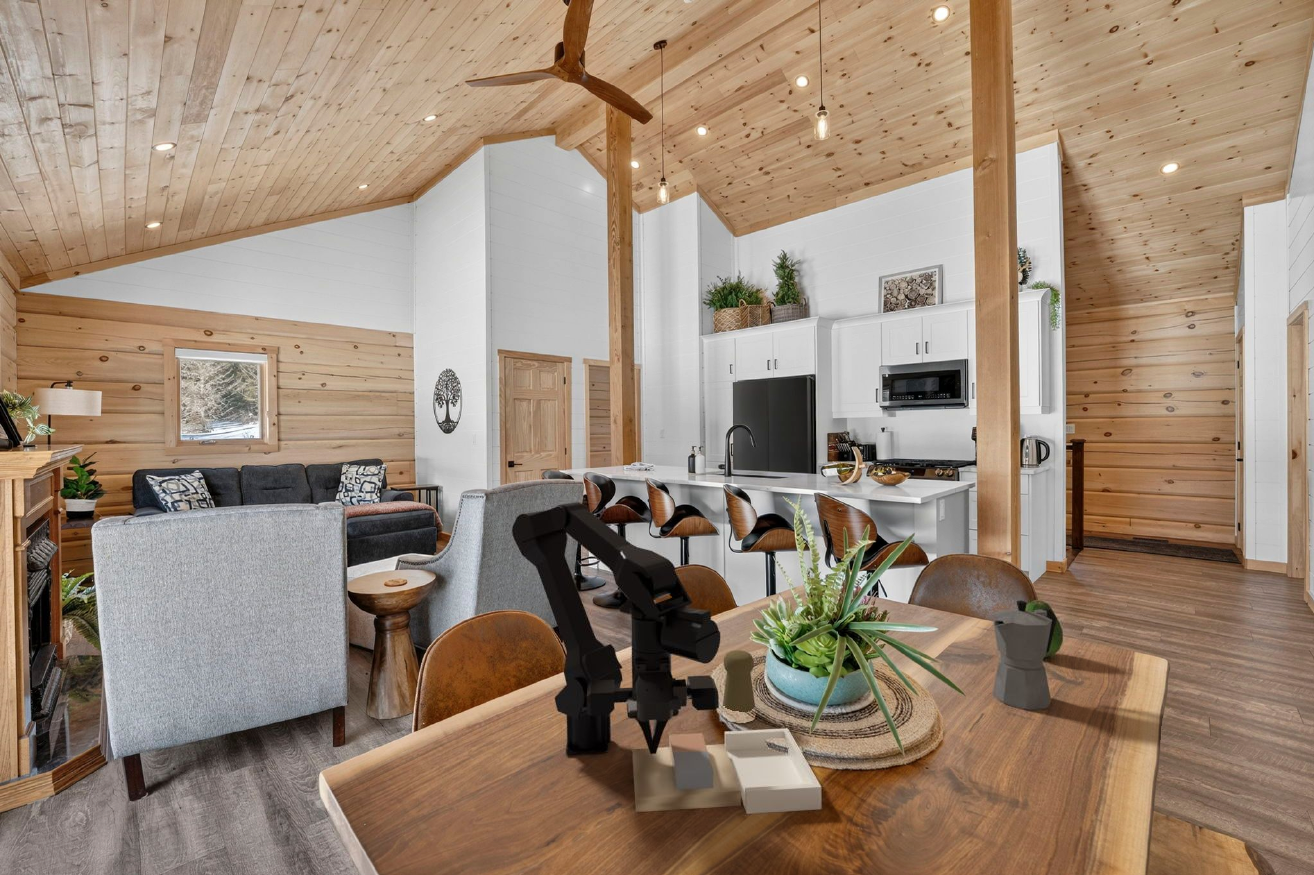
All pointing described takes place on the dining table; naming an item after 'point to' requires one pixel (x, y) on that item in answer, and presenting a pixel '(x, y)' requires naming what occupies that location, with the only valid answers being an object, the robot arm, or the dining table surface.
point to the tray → (771, 773)
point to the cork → (738, 681)
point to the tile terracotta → (686, 743)
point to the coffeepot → (1023, 656)
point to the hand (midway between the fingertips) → (653, 752)
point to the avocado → (1058, 631)
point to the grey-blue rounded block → (692, 770)
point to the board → (660, 789)
